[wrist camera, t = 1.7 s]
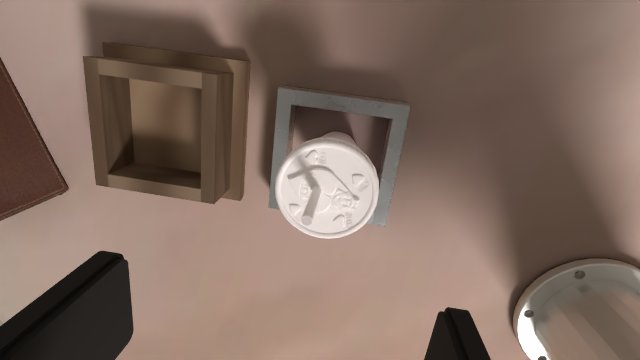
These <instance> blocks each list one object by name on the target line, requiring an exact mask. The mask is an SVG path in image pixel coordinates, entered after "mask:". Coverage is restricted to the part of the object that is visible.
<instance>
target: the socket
mask: <svg viewBox="0 0 640 360" xmlns="http://www.w3.org/2000/svg"><path fill="white" fill-rule="evenodd" d="M103 54H104V57H89V56H83V62H84V71H85V81H86V91H87V101H88V111H89V120H90V130H91V140H92V150H93V160H94V169H95V179H96V185H100V186H106V187H112V188H118V189H124V190H131V191H137V192H143V193H149V194H155V195H161V196H168V197H174V198H180V199H186V200H192V201H198V202H205V203H211V204H215V203H216V202H217V201H218V200H219V199H220V198H226V199H232V200H238V201H240V200H241V199H242V198H243V194H244V175H245V156H246V137H247V118H248V99H249V80H250V61H242V60H235V59H227V58H220V57H212V56H205V55H198V54H190V53H183V52H175V51H168V50H160V49H153V48H145V47H138V46H131V45H123V44H116V43H106V42H103Z"/></svg>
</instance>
